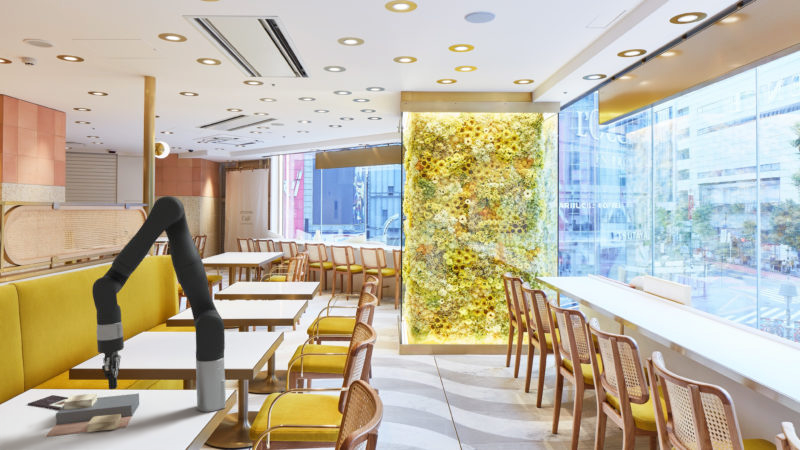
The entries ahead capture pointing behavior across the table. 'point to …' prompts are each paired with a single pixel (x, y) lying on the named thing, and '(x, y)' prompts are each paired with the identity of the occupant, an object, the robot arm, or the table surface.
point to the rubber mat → (79, 427)
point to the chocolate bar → (50, 402)
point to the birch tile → (80, 401)
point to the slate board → (100, 409)
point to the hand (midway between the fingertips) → (113, 388)
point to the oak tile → (104, 422)
